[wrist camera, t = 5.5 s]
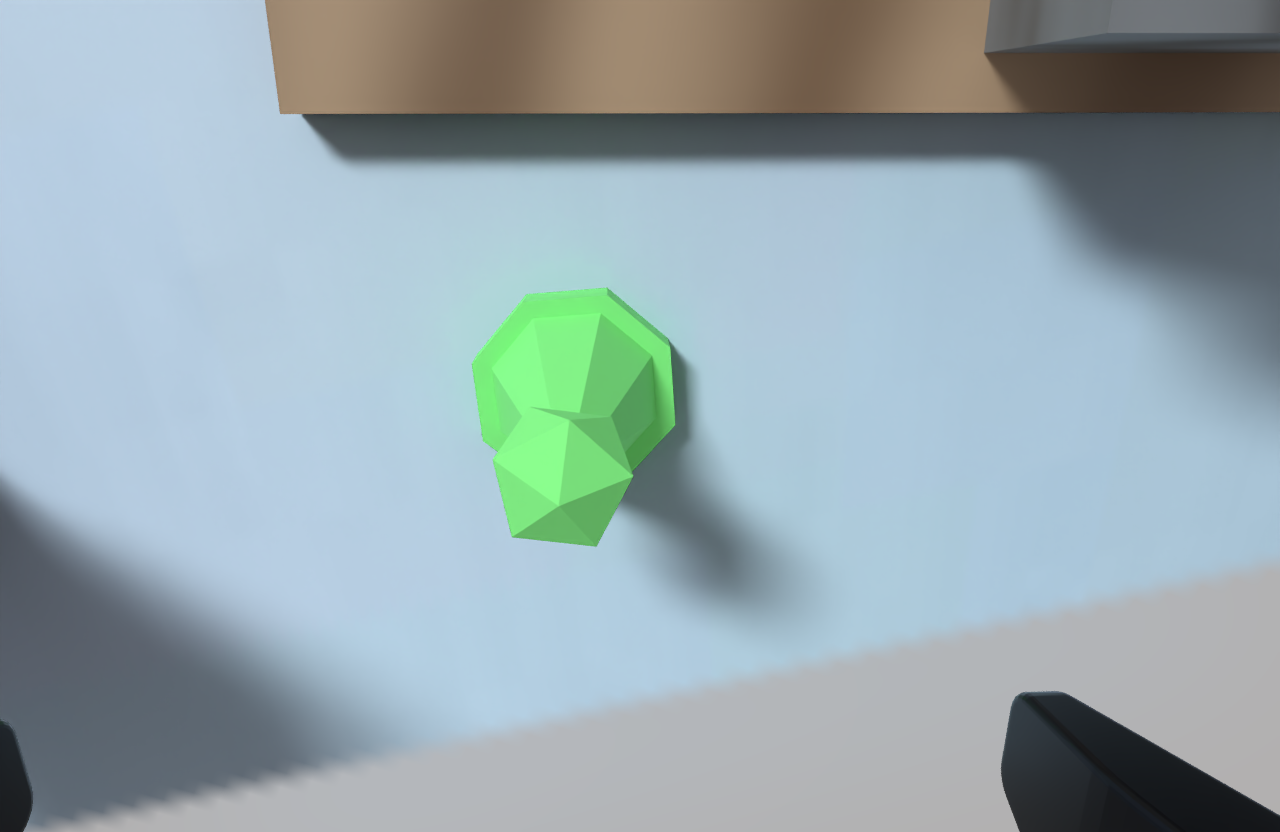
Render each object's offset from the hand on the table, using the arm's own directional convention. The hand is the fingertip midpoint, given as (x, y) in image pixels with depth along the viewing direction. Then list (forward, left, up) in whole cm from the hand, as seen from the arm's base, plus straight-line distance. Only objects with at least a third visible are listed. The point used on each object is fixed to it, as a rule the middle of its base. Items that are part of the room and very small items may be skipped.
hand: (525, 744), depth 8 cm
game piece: (0, 0, -11) cm, 11 cm away
